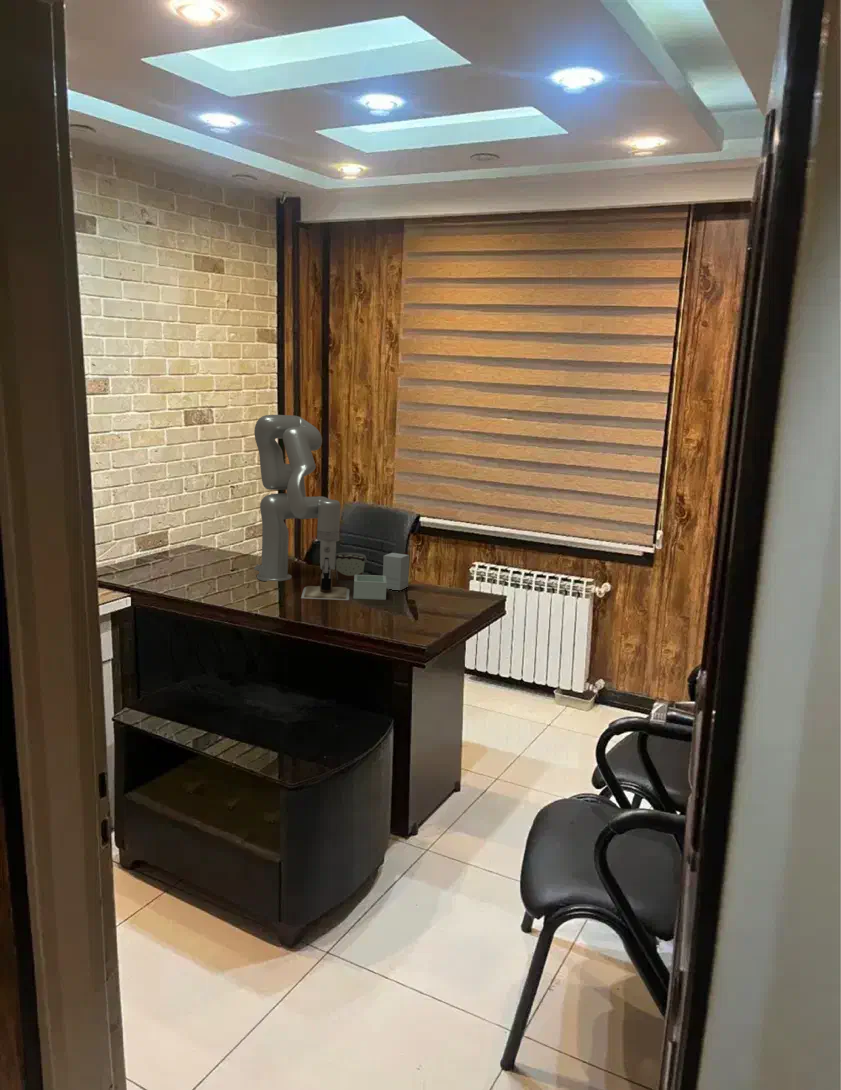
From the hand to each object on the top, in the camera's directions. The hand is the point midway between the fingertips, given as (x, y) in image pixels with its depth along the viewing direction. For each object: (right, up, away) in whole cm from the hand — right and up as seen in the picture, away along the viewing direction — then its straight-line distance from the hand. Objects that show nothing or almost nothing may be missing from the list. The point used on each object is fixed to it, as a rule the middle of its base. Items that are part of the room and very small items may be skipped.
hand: (326, 587), depth 282 cm
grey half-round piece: (+6, +1, +26) cm, 27 cm away
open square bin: (+15, -3, +2) cm, 15 cm away
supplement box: (+23, -2, +16) cm, 28 cm away
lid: (0, -2, 0) cm, 2 cm away
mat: (0, -3, 0) cm, 3 cm away
